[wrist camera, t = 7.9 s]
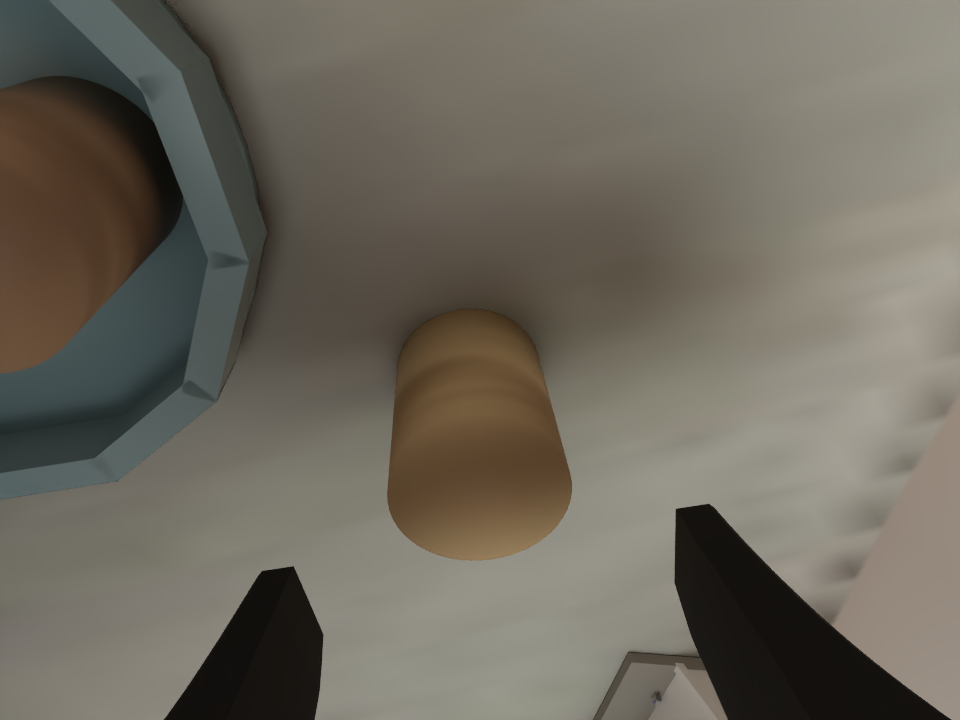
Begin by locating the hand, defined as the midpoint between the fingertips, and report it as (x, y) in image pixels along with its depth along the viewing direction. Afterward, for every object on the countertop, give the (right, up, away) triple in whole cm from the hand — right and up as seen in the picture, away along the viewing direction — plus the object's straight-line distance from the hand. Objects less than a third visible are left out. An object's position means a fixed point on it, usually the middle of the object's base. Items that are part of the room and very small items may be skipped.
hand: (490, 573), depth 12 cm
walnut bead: (-9, +8, +2) cm, 12 cm away
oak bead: (-1, +4, +6) cm, 7 cm away
